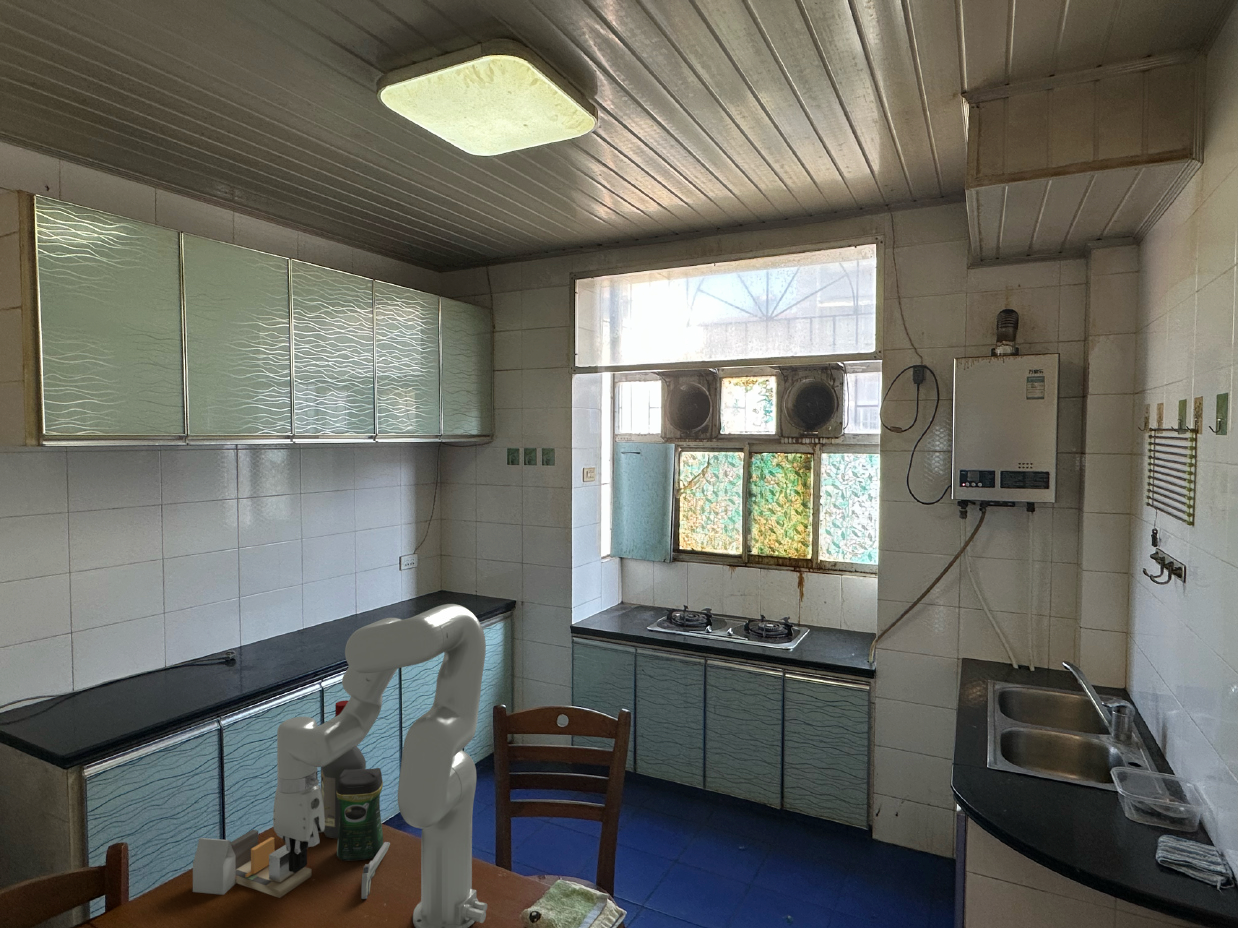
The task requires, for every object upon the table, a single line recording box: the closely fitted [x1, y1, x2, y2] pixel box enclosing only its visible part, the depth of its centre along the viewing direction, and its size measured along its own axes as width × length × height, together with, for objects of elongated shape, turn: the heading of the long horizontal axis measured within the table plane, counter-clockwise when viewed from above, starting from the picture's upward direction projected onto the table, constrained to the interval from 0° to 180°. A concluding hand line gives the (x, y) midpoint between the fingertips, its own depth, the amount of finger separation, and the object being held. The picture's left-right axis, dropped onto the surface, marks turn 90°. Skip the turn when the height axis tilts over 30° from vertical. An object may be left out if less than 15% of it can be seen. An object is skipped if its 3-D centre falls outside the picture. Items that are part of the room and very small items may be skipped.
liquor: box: [320, 699, 367, 840], centre depth 168 cm, size 9×9×30 cm
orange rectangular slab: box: [245, 836, 276, 877], centre depth 148 cm, size 1×6×5 cm, turn 156°
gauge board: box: [230, 829, 312, 899], centre depth 148 cm, size 16×8×7 cm, turn 67°
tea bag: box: [192, 837, 237, 895], centre depth 145 cm, size 4×7×10 cm, turn 83°
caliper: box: [361, 841, 391, 900], centre depth 151 cm, size 20×1×6 cm, turn 5°
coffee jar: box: [336, 767, 384, 862], centre depth 158 cm, size 10×8×19 cm
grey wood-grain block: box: [269, 844, 293, 882], centre depth 147 cm, size 3×5×5 cm, turn 157°
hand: (297, 868), depth 145 cm, fingers closed
